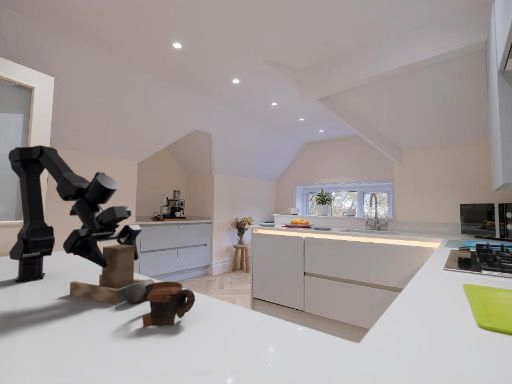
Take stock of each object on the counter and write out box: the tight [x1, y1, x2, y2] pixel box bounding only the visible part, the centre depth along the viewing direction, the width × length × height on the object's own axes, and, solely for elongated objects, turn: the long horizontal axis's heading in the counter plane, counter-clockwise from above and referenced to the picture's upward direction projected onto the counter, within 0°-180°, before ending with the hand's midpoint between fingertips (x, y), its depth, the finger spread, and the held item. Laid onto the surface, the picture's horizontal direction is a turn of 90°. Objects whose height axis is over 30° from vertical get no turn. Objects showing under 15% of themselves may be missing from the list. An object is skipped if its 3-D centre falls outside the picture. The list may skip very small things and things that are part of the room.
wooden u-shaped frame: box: [69, 273, 156, 305], centre depth 68 cm, size 20×9×4 cm, turn 68°
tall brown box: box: [101, 244, 135, 289], centre depth 68 cm, size 5×5×12 cm
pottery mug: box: [140, 281, 196, 328], centre depth 55 cm, size 12×10×8 cm
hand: (122, 262), depth 68 cm, fingers open, 9 cm apart
